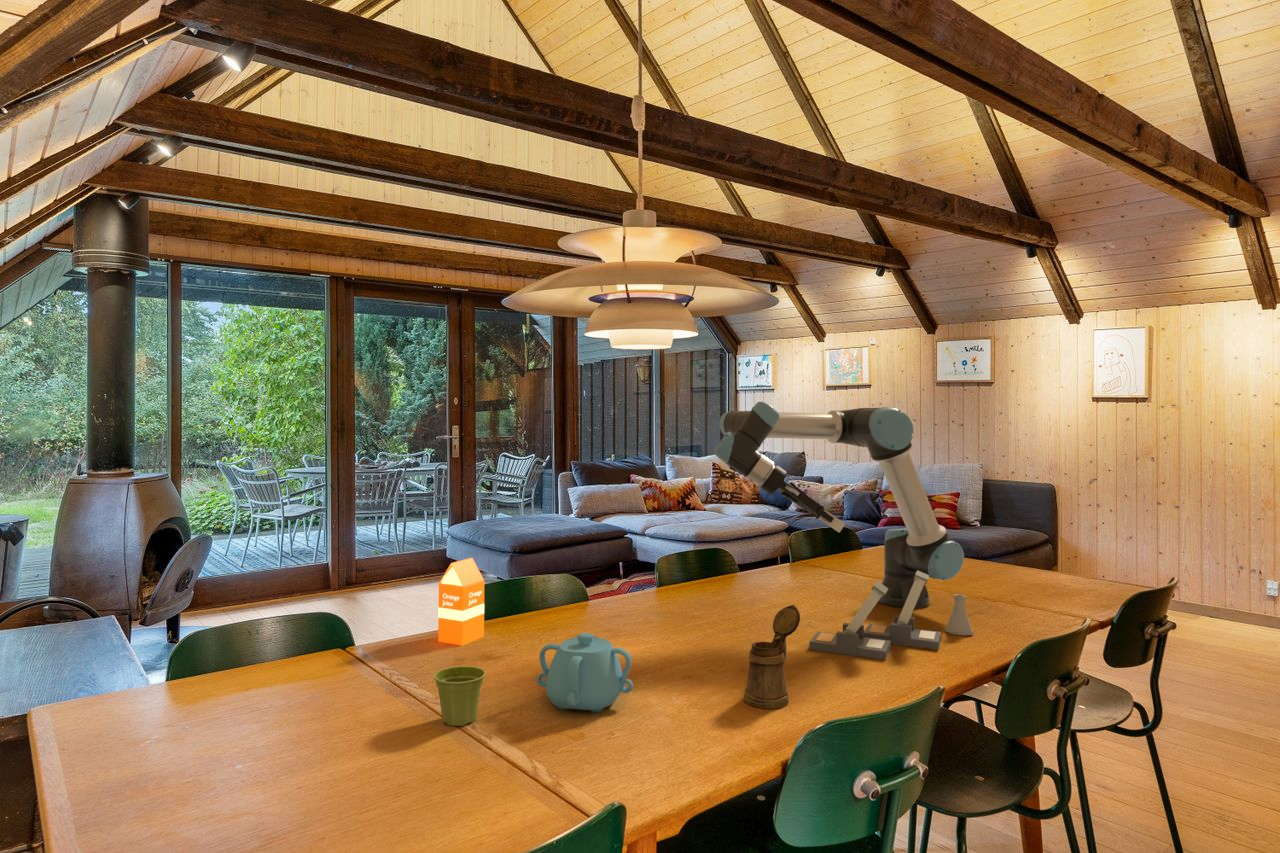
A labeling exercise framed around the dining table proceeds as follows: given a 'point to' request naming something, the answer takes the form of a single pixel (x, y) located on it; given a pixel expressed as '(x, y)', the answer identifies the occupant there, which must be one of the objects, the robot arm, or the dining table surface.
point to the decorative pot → (584, 673)
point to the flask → (959, 618)
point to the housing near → (850, 644)
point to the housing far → (904, 634)
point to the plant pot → (459, 693)
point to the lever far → (913, 597)
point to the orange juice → (461, 604)
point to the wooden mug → (771, 664)
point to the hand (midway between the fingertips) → (841, 528)
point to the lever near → (866, 607)
